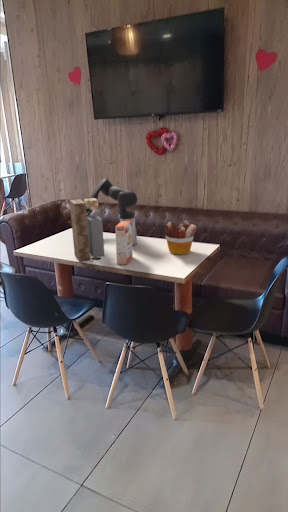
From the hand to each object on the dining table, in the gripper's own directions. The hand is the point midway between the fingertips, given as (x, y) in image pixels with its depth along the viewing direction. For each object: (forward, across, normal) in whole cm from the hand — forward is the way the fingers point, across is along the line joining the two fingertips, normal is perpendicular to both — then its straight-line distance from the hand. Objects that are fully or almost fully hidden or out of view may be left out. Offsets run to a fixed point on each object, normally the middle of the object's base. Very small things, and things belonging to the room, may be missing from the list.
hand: (86, 199), depth 214 cm
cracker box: (+12, -12, -42) cm, 45 cm away
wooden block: (-2, +8, -34) cm, 35 cm away
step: (-4, -1, -32) cm, 32 cm away
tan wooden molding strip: (+4, 0, -6) cm, 7 cm away
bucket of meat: (+12, -45, -42) cm, 63 cm away
